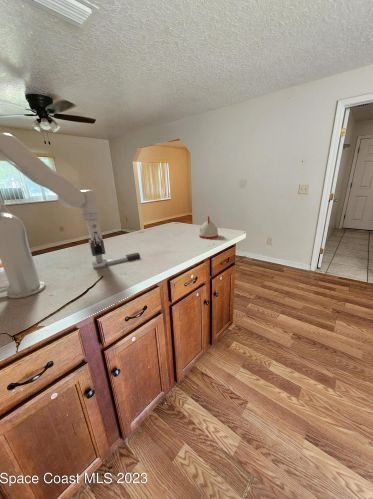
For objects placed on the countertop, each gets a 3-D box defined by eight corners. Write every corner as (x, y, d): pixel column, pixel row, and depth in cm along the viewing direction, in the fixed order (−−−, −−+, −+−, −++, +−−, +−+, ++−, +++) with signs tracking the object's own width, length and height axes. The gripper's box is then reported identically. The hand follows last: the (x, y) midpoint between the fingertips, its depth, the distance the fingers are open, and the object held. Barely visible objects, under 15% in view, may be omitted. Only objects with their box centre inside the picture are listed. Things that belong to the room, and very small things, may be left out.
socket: (92, 256, 101) (90, 242, 99) (91, 252, 106) (88, 239, 104) (105, 253, 104) (103, 240, 102) (103, 250, 109) (101, 237, 107)
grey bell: (217, 234, 160) (218, 215, 155) (218, 239, 147) (218, 218, 142) (200, 234, 162) (199, 215, 157) (198, 239, 149) (198, 218, 144)
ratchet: (94, 269, 103) (91, 257, 101) (92, 265, 108) (89, 253, 106) (141, 259, 114) (139, 248, 112) (137, 255, 120) (136, 245, 118)
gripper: (102, 218, 94) (108, 254, 99) (96, 213, 108) (102, 246, 114) (84, 220, 90) (92, 258, 96) (81, 215, 104) (87, 248, 110)
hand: (97, 251), depth 105 cm, fingers closed on socket, 6 cm apart
